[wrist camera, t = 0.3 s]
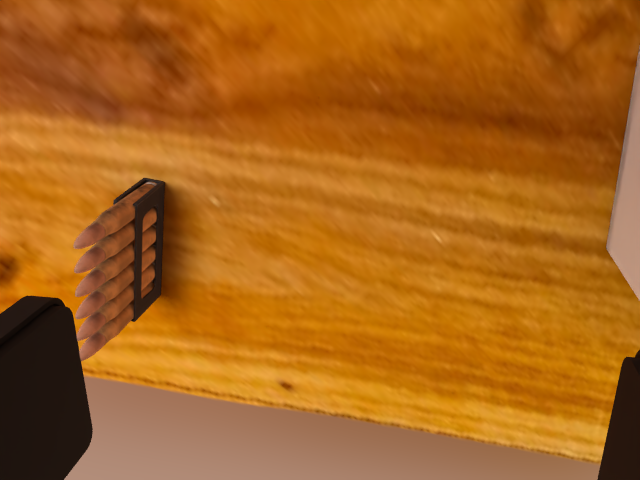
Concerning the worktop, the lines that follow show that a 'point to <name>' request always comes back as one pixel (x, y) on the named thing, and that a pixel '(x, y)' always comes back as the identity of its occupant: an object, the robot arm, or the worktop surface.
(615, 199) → the toolbox
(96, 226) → the ammunition clip
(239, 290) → the worktop surface
